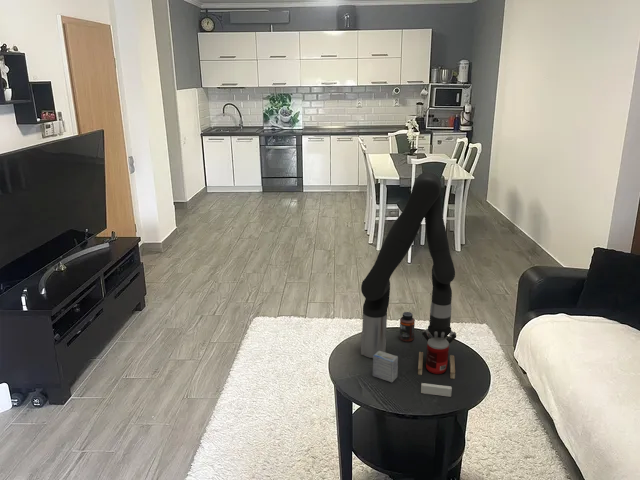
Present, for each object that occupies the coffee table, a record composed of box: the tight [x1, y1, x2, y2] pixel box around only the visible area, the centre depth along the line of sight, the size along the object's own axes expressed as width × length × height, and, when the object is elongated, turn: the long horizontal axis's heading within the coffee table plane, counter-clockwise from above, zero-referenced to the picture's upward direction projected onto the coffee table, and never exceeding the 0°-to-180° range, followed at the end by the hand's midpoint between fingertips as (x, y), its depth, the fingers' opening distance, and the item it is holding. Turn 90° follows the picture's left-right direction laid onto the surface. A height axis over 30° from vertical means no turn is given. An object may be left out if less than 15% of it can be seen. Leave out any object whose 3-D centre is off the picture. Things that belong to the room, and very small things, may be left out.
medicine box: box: [372, 351, 399, 383], centre depth 182 cm, size 8×4×9 cm, turn 56°
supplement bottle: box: [398, 311, 416, 342], centre depth 209 cm, size 6×6×11 cm
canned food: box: [425, 336, 450, 375], centre depth 187 cm, size 8×8×11 cm
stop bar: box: [420, 382, 453, 398], centre depth 173 cm, size 10×2×3 cm, turn 78°
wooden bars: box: [417, 351, 456, 380], centre depth 189 cm, size 13×12×2 cm
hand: (437, 354), depth 192 cm, fingers closed
